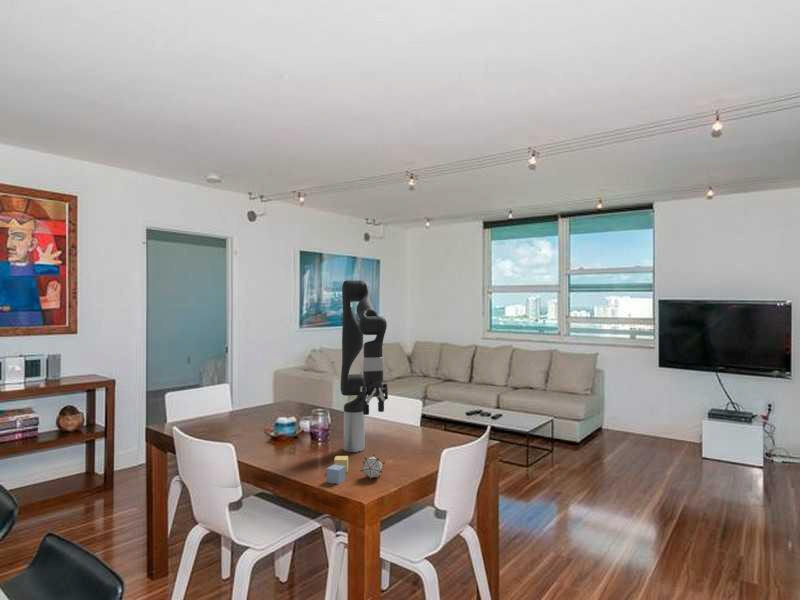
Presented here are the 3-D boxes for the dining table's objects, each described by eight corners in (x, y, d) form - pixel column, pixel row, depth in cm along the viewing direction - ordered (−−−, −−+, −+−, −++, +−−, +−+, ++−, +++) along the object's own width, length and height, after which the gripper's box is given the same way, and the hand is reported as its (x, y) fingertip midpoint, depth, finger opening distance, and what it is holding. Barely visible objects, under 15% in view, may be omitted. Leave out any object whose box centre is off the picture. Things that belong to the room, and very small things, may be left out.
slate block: (333, 477, 183) (333, 464, 183) (345, 479, 181) (345, 466, 181) (326, 482, 179) (326, 468, 179) (338, 484, 177) (338, 470, 177)
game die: (368, 489, 182) (352, 469, 180) (372, 473, 190) (357, 454, 187) (387, 480, 179) (372, 459, 177) (391, 464, 187) (376, 445, 185)
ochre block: (335, 468, 193) (335, 456, 194) (348, 468, 194) (348, 455, 194) (334, 473, 188) (334, 460, 189) (347, 473, 189) (347, 459, 189)
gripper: (377, 368, 193) (378, 410, 192) (352, 370, 182) (353, 415, 181) (392, 368, 189) (393, 411, 187) (368, 370, 177) (368, 416, 176)
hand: (373, 413), depth 184 cm, fingers open, 8 cm apart
